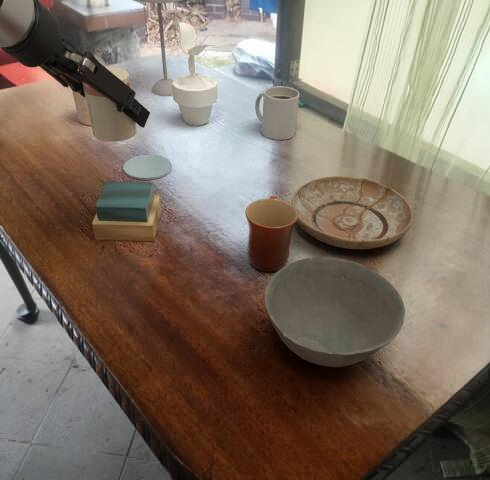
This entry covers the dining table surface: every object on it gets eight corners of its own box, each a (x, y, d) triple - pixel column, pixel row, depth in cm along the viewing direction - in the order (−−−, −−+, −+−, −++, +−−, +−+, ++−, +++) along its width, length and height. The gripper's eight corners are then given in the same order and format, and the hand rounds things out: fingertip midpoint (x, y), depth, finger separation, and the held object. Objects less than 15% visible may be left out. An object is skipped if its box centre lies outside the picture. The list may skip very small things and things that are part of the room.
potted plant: (166, 120, 122) (155, 9, 104) (200, 109, 128) (195, 2, 110) (195, 136, 116) (189, 21, 98) (229, 124, 122) (230, 13, 103)
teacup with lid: (110, 126, 118) (101, 78, 110) (75, 126, 118) (63, 78, 109) (116, 108, 126) (109, 62, 118) (83, 108, 126) (73, 61, 117)
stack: (108, 207, 92) (101, 178, 88) (162, 209, 92) (158, 180, 88) (95, 239, 85) (87, 209, 80) (154, 241, 85) (150, 211, 80)
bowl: (236, 362, 66) (238, 314, 58) (296, 289, 77) (303, 241, 70) (357, 423, 59) (375, 377, 52) (402, 334, 71) (422, 286, 63)
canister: (88, 126, 78) (75, 69, 71) (130, 120, 80) (121, 64, 73) (98, 145, 73) (86, 85, 67) (142, 137, 76) (134, 79, 69)
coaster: (117, 161, 105) (117, 159, 105) (162, 153, 109) (162, 151, 109) (131, 184, 99) (131, 181, 98) (178, 174, 102) (178, 172, 102)
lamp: (204, 85, 141) (199, -53, 116) (179, 104, 130) (168, -43, 105) (155, 76, 144) (140, -59, 120) (127, 95, 133) (105, -50, 109)
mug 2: (290, 279, 79) (297, 230, 71) (241, 274, 79) (242, 225, 72) (293, 238, 87) (299, 190, 79) (247, 235, 87) (249, 186, 80)
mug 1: (299, 138, 117) (304, 98, 110) (264, 141, 115) (266, 100, 108) (286, 121, 124) (290, 82, 117) (253, 124, 122) (255, 84, 115)
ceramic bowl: (429, 228, 91) (437, 207, 87) (359, 280, 79) (366, 258, 75) (337, 184, 102) (341, 162, 98) (264, 223, 90) (266, 201, 86)
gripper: (-45, 34, 60) (78, 118, 81) (59, 68, 53) (164, 151, 74) (-25, -22, 59) (94, 78, 80) (83, 5, 52) (182, 107, 73)
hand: (127, 113), depth 77 cm, fingers closed on canister, 7 cm apart
